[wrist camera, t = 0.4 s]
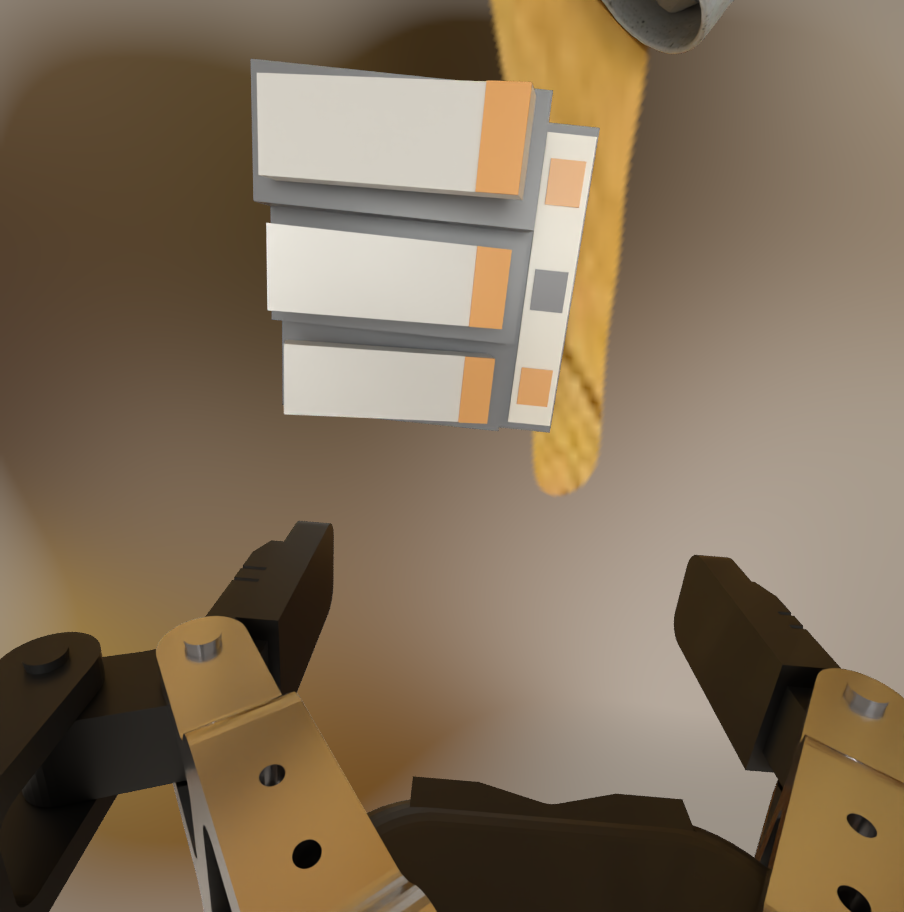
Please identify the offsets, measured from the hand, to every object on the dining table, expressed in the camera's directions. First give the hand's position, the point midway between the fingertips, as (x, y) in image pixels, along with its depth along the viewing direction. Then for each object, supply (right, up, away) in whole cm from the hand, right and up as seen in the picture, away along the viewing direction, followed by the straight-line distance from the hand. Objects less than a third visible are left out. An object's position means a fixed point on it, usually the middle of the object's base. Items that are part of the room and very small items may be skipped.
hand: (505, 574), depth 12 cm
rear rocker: (-5, +7, +20) cm, 22 cm away
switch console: (-3, +14, +23) cm, 27 cm away
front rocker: (-4, +17, +12) cm, 21 cm away
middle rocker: (-4, +12, +16) cm, 20 cm away
